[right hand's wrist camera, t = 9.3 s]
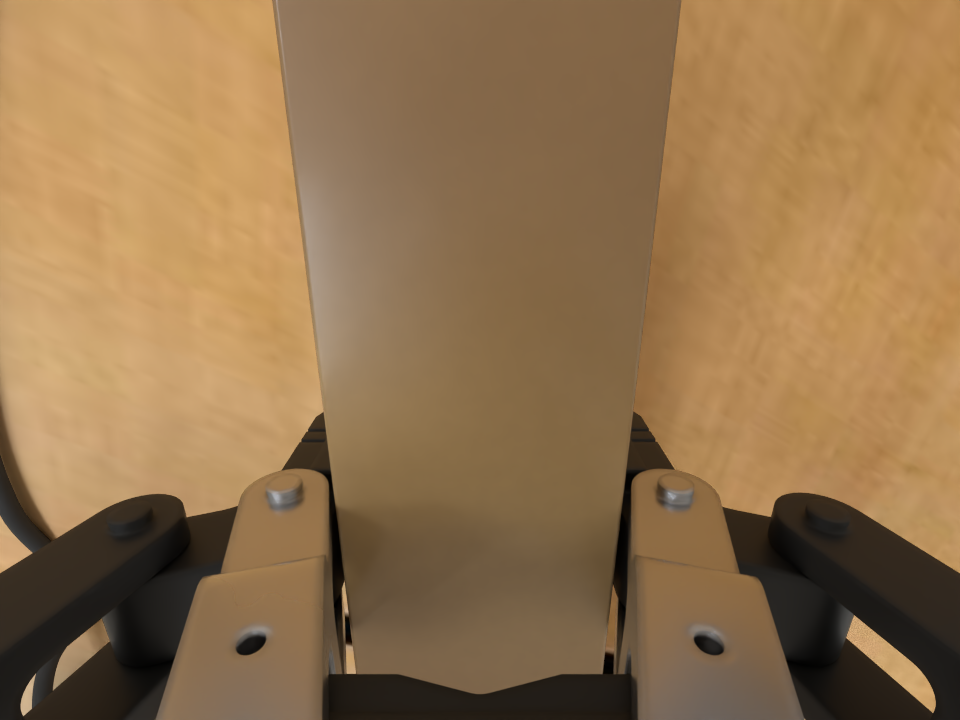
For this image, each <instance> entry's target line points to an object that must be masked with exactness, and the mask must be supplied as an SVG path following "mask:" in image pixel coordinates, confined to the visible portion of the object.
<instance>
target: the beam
mask: <svg viewBox="0 0 960 720" xmlns="http://www.w3.org/2000/svg"><path fill="white" fill-rule="evenodd" d="M272 2H273V10H274V18H275V26H276V34H277V42H278V50H279V58H280V66H281V74H282V82H283V90H284V98H285V106H286V114H287V122H288V130H289V138H290V146H291V154H292V162H293V170H294V178H295V186H296V194H297V202H298V210H299V218H300V226H301V234H302V242H303V250H304V258H305V266H306V274H307V282H308V290H309V298H310V306H311V314H312V322H313V330H314V338H315V346H316V354H317V362H318V370H319V378H320V386H321V394H322V403H323V411H324V419H325V427H326V435H327V443H328V451H329V459H330V467H331V475H332V483H333V491H334V499H335V507H336V515H337V523H338V531H339V539H340V547H341V555H342V563H343V571H344V579H345V587H346V595H347V603H348V611H349V619H350V627H351V635H352V643H353V651H354V659H355V667H356V674H400V675H404V676H408V677H411V678H415V679H419V680H423V681H427V682H431V683H434V684H438V685H442V686H446V687H450V688H454V689H457V690H461V691H465V692H469V693H474V694H486V693H491V692H495V691H499V690H503V689H506V688H510V687H514V686H518V685H522V684H526V683H529V682H533V681H537V680H541V679H545V678H549V677H552V676H556V675H560V674H602V673H603V664H604V656H605V647H606V639H607V630H608V621H609V613H610V604H611V596H612V587H613V579H614V570H615V562H616V553H617V545H618V536H619V528H620V519H621V511H622V502H623V494H624V485H625V477H626V468H627V460H628V451H629V442H630V434H631V425H632V417H633V408H634V400H635V391H636V383H637V374H638V366H639V357H640V349H641V340H642V332H643V323H644V315H645V306H646V298H647V289H648V281H649V272H650V263H651V255H652V246H653V238H654V229H655V221H656V212H657V204H658V195H659V187H660V178H661V170H662V161H663V153H664V144H665V136H666V127H667V119H668V110H669V102H670V93H671V85H672V76H673V67H674V59H675V50H676V42H677V33H678V25H679V16H680V8H681V0H272Z"/></svg>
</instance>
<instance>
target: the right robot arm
mask: <svg viewBox="0 0 960 720" xmlns="http://www.w3.org/2000/svg"><path fill="white" fill-rule="evenodd" d="M0 516H1V517H2V519H3V521H4V522H5V524H6V525H7V526H8V528H9V529H10V530H11V532H12V533H13V534H14V535H15V536H16V537H17V538H18V539H19V540H20V541H21V542H22V543H23V544H24V545H25V546H26V547H27V548H28V549H29V550H30V551H31V552H33V553H32V554H31V555H29V556H28V557H26V558H24V559H23V560H21V561H20V562H18V563H16V564H15V565H13V566H11V567H10V568H8V569H7V570H5V571H3V572H2V573H0V720H804V718H805V719H806V720H960V573H958V572H957V571H955V570H953V569H952V568H950V567H949V566H947V565H945V564H944V563H942V562H940V561H939V560H937V559H936V558H934V557H932V556H931V555H929V554H928V553H926V552H924V551H923V550H921V549H919V548H918V547H916V546H915V545H913V544H911V543H910V542H908V541H907V540H905V539H903V538H902V537H900V536H898V535H897V534H895V533H894V532H892V531H890V530H889V529H887V528H886V527H884V526H882V525H881V524H879V523H877V522H876V521H874V520H873V519H871V518H869V517H868V516H866V515H865V514H863V513H861V512H860V511H858V510H856V509H854V508H853V507H851V506H849V505H847V504H844V503H842V502H840V501H837V500H835V499H831V498H828V497H825V496H821V495H816V494H810V493H790V494H786V495H783V496H781V497H779V498H778V499H777V500H776V501H775V504H774V508H773V512H772V516H771V517H767V516H762V515H757V514H752V513H747V512H742V511H737V510H732V509H728V508H725V507H722V505H721V501H720V498H719V495H718V493H717V492H716V491H715V489H714V488H713V487H712V486H710V485H709V484H708V483H706V482H705V481H703V480H702V479H700V478H698V477H696V476H694V475H691V474H688V473H685V472H682V471H677V470H675V469H674V468H673V466H672V465H671V463H670V462H669V460H668V458H667V457H666V455H665V454H664V452H663V450H662V449H661V447H660V446H659V444H658V443H657V442H655V438H654V436H653V435H652V433H651V432H650V431H649V428H648V427H647V425H646V424H645V422H644V421H643V419H642V417H641V416H639V415H638V414H636V413H635V412H633V417H632V425H631V434H630V442H629V451H628V460H627V468H626V477H625V485H624V494H623V502H622V511H621V519H620V528H619V536H618V545H617V553H616V562H615V570H614V579H613V585H614V588H615V591H616V594H617V604H616V618H615V647H614V674H560V675H556V676H552V677H549V678H545V679H541V680H537V681H533V682H529V683H526V684H522V685H518V686H514V687H510V688H506V689H503V690H499V691H495V692H491V693H486V694H474V693H469V692H465V691H461V690H457V689H454V688H450V687H446V686H442V685H438V684H434V683H431V682H427V681H423V680H419V679H415V678H411V677H408V676H404V675H400V674H347V673H346V645H345V616H344V603H343V595H342V586H343V583H344V580H345V579H344V571H343V563H342V555H341V547H340V539H339V531H338V523H337V515H336V507H335V499H334V491H333V483H332V475H331V467H330V459H329V451H328V443H327V435H326V427H325V419H324V412H323V413H321V414H320V415H318V416H317V417H316V418H315V420H314V421H313V423H312V424H311V426H310V427H309V429H308V432H306V433H305V435H304V437H303V438H302V442H300V443H299V444H298V446H297V447H296V449H295V450H294V452H293V454H292V455H291V457H290V458H289V460H288V461H287V463H286V464H285V466H284V467H283V469H282V471H278V472H275V473H272V474H269V475H266V476H264V477H262V478H260V479H258V480H257V481H255V482H254V483H252V484H251V485H250V486H249V487H248V488H247V489H246V490H245V491H244V492H243V494H242V495H241V498H240V501H239V505H238V506H236V507H233V508H230V509H226V510H222V511H217V512H212V513H207V514H202V515H197V516H191V517H186V513H185V509H184V506H183V503H182V501H181V500H180V499H178V498H177V497H174V496H171V495H166V494H151V495H144V496H139V497H134V498H131V499H128V500H124V501H122V502H119V503H116V504H114V505H112V506H110V507H108V508H106V509H104V510H102V511H100V512H99V513H97V514H95V515H94V516H92V517H91V518H89V519H87V520H86V521H84V522H83V523H81V524H79V525H78V526H76V527H74V528H73V529H71V530H70V531H68V532H66V533H65V534H63V535H62V536H60V537H58V538H57V539H55V540H53V541H52V542H51V541H50V540H49V539H48V538H47V537H46V536H45V535H44V534H43V533H42V532H41V531H40V530H39V529H38V528H37V527H36V526H35V525H34V524H33V523H32V521H31V520H30V519H29V517H28V516H27V515H26V513H25V512H24V510H23V508H22V507H21V505H20V503H19V501H18V499H17V497H16V495H15V492H14V490H13V488H12V486H11V483H10V481H9V478H8V476H7V473H6V470H5V468H4V465H3V462H2V459H1V456H0ZM854 615H855V616H856V617H857V618H859V619H860V620H861V621H862V622H864V623H865V624H866V625H867V626H868V627H870V628H871V629H872V630H873V631H875V632H876V633H877V634H878V635H880V636H881V637H882V638H883V639H884V640H886V641H887V642H888V643H889V644H891V645H892V646H893V647H894V648H896V649H897V650H898V651H899V652H900V653H902V654H903V655H904V656H905V657H907V658H908V659H909V660H910V661H911V662H913V663H914V664H915V665H916V666H917V667H918V668H919V669H920V670H921V671H922V673H923V674H924V675H925V677H926V678H927V680H928V681H929V683H930V685H931V687H932V689H933V692H934V694H935V699H936V707H935V711H934V713H932V712H931V711H930V710H929V709H927V708H926V707H925V706H924V705H923V704H922V703H920V702H919V701H918V700H917V699H916V698H915V697H914V696H912V695H911V694H910V693H909V692H908V691H907V690H905V689H904V688H903V687H902V686H901V685H900V684H899V683H897V682H896V681H895V680H894V679H893V678H892V677H890V676H889V675H888V674H887V673H886V672H885V671H884V670H882V669H881V668H880V667H879V666H878V665H877V664H875V663H874V662H873V661H872V660H871V659H870V658H869V657H867V656H866V655H865V654H864V653H863V652H862V651H860V650H859V649H858V648H857V647H856V646H855V645H854V644H852V643H851V642H850V641H849V640H848V639H847V638H846V636H847V633H848V631H849V628H850V625H851V622H852V619H853V616H854ZM101 618H102V620H103V623H104V626H105V628H106V631H107V634H108V637H109V640H110V642H109V643H108V644H106V645H105V646H104V647H103V648H102V649H101V650H100V651H98V652H97V653H96V654H95V655H94V656H93V657H91V658H90V659H89V660H88V661H87V662H86V663H85V664H83V665H82V666H81V667H80V668H79V669H78V670H76V671H75V672H74V673H73V674H72V675H71V676H70V677H68V678H67V679H66V680H65V681H64V682H63V683H61V684H60V685H59V686H58V687H57V688H56V689H54V690H53V682H54V676H55V671H56V668H57V664H58V662H59V659H60V657H61V655H62V653H63V652H64V650H65V649H66V647H67V646H68V645H69V644H71V643H72V642H73V641H74V640H76V639H77V638H78V637H79V636H80V635H82V634H83V633H84V632H85V631H87V630H88V629H89V628H90V627H92V626H93V625H94V624H95V623H96V622H98V621H99V620H100V619H101ZM35 674H36V676H35V681H34V686H33V696H32V709H31V710H30V711H29V712H28V713H27V714H26V715H24V716H23V715H22V713H21V708H20V704H21V698H22V696H23V693H24V691H25V688H26V686H27V685H28V683H29V682H30V680H31V679H32V677H33V676H34V675H35Z"/></svg>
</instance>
